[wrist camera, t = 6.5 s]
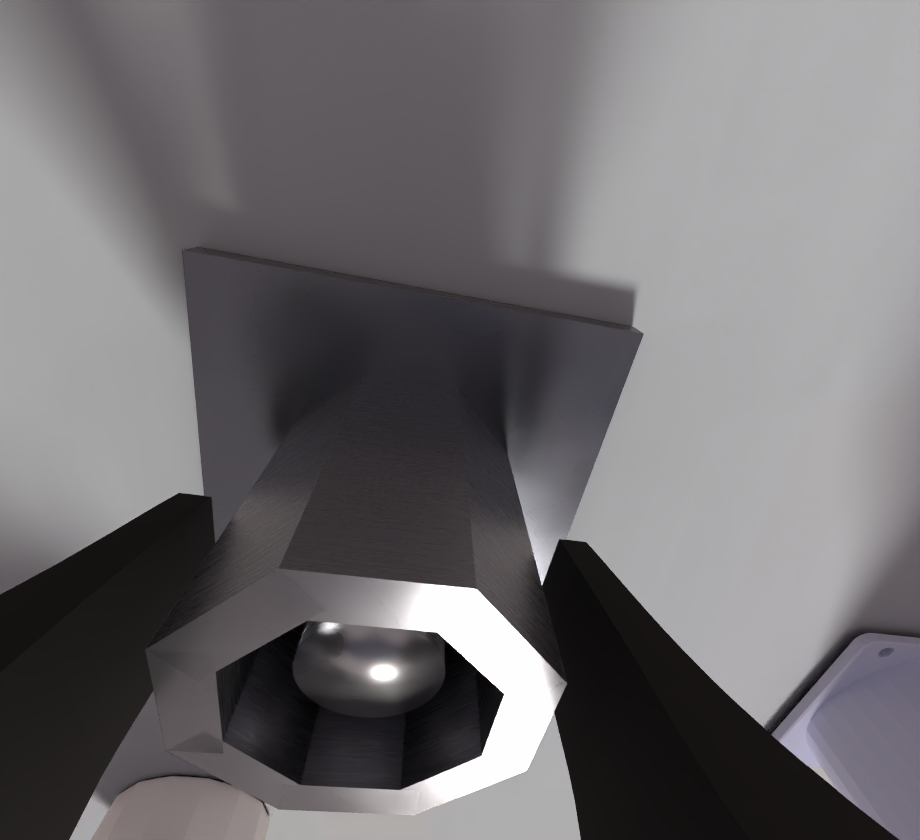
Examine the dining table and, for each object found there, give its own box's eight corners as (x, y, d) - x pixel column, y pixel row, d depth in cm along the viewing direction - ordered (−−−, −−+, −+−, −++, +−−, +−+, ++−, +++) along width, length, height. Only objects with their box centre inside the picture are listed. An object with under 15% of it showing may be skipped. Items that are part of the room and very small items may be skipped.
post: (633, 327, 11) (819, 449, 5) (528, 612, 15) (575, 833, 10) (197, 246, 9) (-105, 304, 4) (222, 582, 14) (89, 813, 9)
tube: (522, 399, 11) (605, 602, 5) (478, 563, 13) (504, 819, 8) (295, 364, 10) (125, 552, 5) (291, 542, 12) (176, 804, 7)
